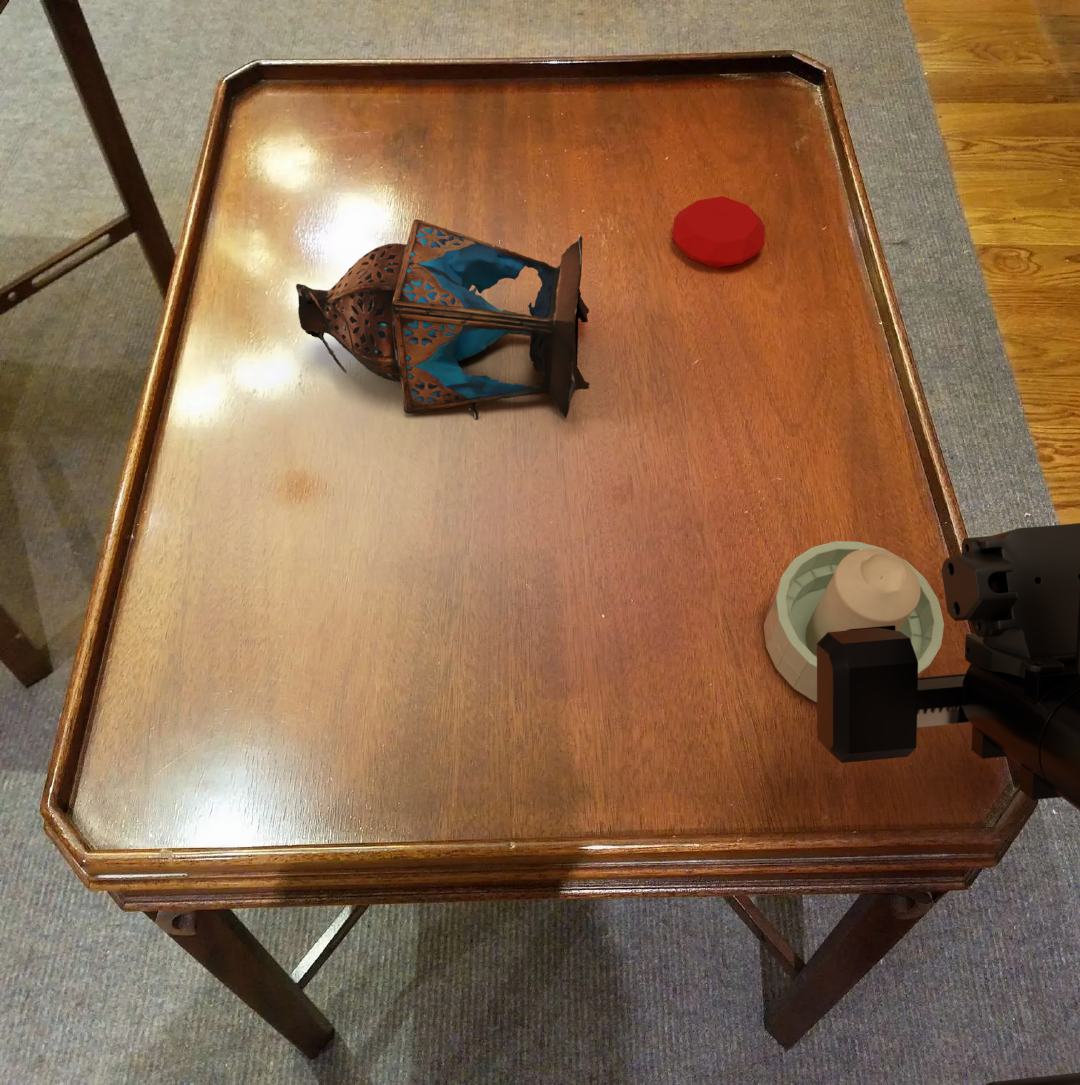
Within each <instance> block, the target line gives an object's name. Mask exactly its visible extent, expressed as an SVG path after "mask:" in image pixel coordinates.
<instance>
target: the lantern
mask: <svg viewBox="0 0 1080 1085" xmlns="http://www.w3.org/2000/svg"><path fill="white" fill-rule="evenodd" d="M582 236H583V235H582V234H580V233H579V234H578V235H577V241H576V242H574V243H572V244H570V245H569V247H567V248H566V249H565V251H564V252H563V253H562V254H561V255H560V256H561V259H560V263H559V265H558V266H557V267H555V266H552V265H550V264H548V262H545V261H541V260H537V259H534V258H531V257H528V256H526V255H523V254H521V253H518V252H516V251H511V250H509V249H507V248H503V247H500V246H498V245H494V246H493V244H491V243H489V242H486V241H483V240H480V239H477V238H475V237H473V236H470V235H467V234H463V233H462V232H457V231H453V230H450V229H447V228H445V227H441V226H440V225H439V226H438V225H436V224H433V223H430V222H427V221H424V220H421V219H417V218H415V219H413V220H412V223H411V227H410V232H409V236H408V237H407V242H406V243H405V244H404V243H397V242H394V243H386V244H383V245H380V246H377V247H374V248H373V249H371V250H370V251H369V252H367V253H366V254H363V255H362V257H360V258H359V259H358V260H357V261H356V262H355V263H354V264H353V265H352V266H351V267H349V268H348V270H347V271H346V272H345V274H343V276H342V277H340V279H339V280H338V281H337V282H336V283H335V284H334V285H333V286H332V287H331V288H330V289H327V290H325V289H314V288H311V287H309V286H307V285H306V284H302V283H296V284H295V289H296V292H297V295H298V299H297V300H298V308H297V310H298V312H297V313H298V320H299V324H300V328H301V329H302V330H303V331H304V332H305V333H306V334H307V335H309V336H311V337H314V338H318V339H319V340H320V341H322V343H323V345H324V347H325V349H326V350H327V351H328V354H329V355H330V356H331V357H332V359H333V360H334V361H335V363H336V364H337V365H338V367H339V368H340V370H342V371H343V373H345V374H347V372H348V371H347V370H346V368H345V367H344V366H343V365H342V363H341V362H340V360H339V359H338V358H337V356H336V354H335V352H334V351H335V350H333V349H332V348H331V347H330V345H329V343H328V342H327V341H326V340H325V337H324V336H325V334H328V335H329V336H331V337H332V338H333V339H334V340H336V342H338V344H339V345H340V346H341V347H342V348H344V349H345V350H346V351H347V352H348V353H349V354H350V355H351V356H352V357H354V358H355V359H356V360H357V361H358V362H359V363H360V364H361V365H363V367H364V368H365V369H367V370H368V371H370V372H371V373H373V374H375V375H376V376H378V377H381V378H383V379H385V380H387V381H391V382H396V383H400V386H401V392H402V402H403V403H402V404H403V411H404V413H405V414H416V413H421V412H422V413H423V412H429V411H436V410H443V409H447V408H449V409H450V408H452V407H456V406H463V405H466V404H467V405H468V406H469V407H468V410H469V411H471V412H472V415H473V416H472V417H473V418H474V419H475V420H478V417H479V411H478V408H477V406H478V405H479V404H482V403H487V402H493V401H499V400H502V399H509V398H515V397H516V398H517V397H525V396H532V395H547V396H548V397H549V399H550V400H551V401H552V402H553V403H554V405H556V406H557V408H558V409H559V412H560V413H561V414H562V416H563V418H564V419H567V417H568V415H569V412H570V408H571V407H570V406H571V401H572V398H573V396H574V394H575V391H578V390H588V389H590V383H589V381H586V380H585V378H584V377H583V375H582V373H581V371H580V369H579V367H578V356H579V355H578V353H579V352H578V350H579V349H578V348H579V320H580V322H581V324H582V323H588V322H589V320H588V314H589V313H590V309H589V308H588V306H587V305H586V304H585V301H584V299H583V297H582V296H581V295H582V292H581V289H580V288H581V280H582V268H583V237H582ZM525 267H526V268H528V269H531V268H532V269H535V271H537V273H536V274H537V277H538V278H539V280H540V281H541V286H540V288H539V290H538V291H537V295H536V297H535V301H534V306H533V305H532V304H533V303H532V301H530V302H529V304H528V306H527V307H528V310H529V314H530V315H529V314H525V313H518V312H516V311H512V310H508V309H499V308H497V307H496V306H494V305H493V304H491V303H490V302H489V301H488V300H486V299H485V298H484V297H483V296H482V295H481V294H482V293H483V292H484V291H485V290H489V289H491V288H492V287H494V286H496V285H497V284H498V283H499V281H500V280H503V279H512V280H515V281H516V279H518V278H519V276H520V273H521V271H522V270H523V269H524V268H525ZM472 286H473V287H474V288H473V289H471V288H472ZM470 289H471V290H470ZM476 292H478V294H477V293H476ZM506 335H517V336H528V337H530V341H529V342H530V343H529V353H528V354H529V359H530V361H531V362H532V366H533V369H534V370H535V371H536V372H538V373H540V374H542V376H541V383H540V384H539V385H536V386H533V385H525V384H521V383H517V382H515V383H509V382H500V381H499V380H498V379H494V378H491V377H490V376H488V375H471V374H469V373H467V372H465V371H464V370H463V369H462V367H461V366H460V363H459V362H461V361H462V360H465V359H467V358H471V357H473V356H475V355H478V354H479V353H481V352H484V351H485V350H486V349H487V347H488V346H491V345H493V344H495V342H496V341H497V340H499V339H502V338H503V337H505V336H506Z"/></svg>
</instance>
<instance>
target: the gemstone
mask: <svg viewBox="0 0 1080 1085" xmlns="http://www.w3.org/2000/svg"><path fill="white" fill-rule="evenodd" d="M671 238H672V240H673V242H674V244H675V246H677V248H678V249H680V251H681V252H683V253H684V255H686V257H688V258H689V259H690V260H692V261H695V262H698V263H700V264H703V265H705V266H708V267H711V268H714V269H717V268H723V267H729V266H733V265H739V264H742V263H744V262H745V261H747V260H749V259H750V258H752V257H754V256H756V255H757V254H759V253H760V252H761V251H762V250H763V248H764V247H765V243H766V242H765V241H766V226H765V224H764V222H763V221H762V219H761V217H759V215H758V214H757V213H756V212H755V211H754V210H753V209H752V208H751V207H750V205H749V204H747V203H743V202H741V201H738V200H736V199H732V198H729V197H726V196H723V195H719V196H715V197H709V198H704V199H697V200H695V201H694V202H692V203H691V204H689V205H688V206H686V207H684V208H683V209H682V210H680V211H678V213H677V214H676V216H675V217H674V218H673V226H672V237H671Z"/></svg>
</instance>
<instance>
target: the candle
mask: <svg viewBox="0 0 1080 1085" xmlns="http://www.w3.org/2000/svg"><path fill="white" fill-rule="evenodd" d="M890 552H891V551H890ZM890 552H887V551H884V550H880V549H872V548H868V549H860V550H857V551H854V552H852V553H850V554H848V555H847V556H846V557H844V558H843V559H842V561H841V562H840V564H839V565H838V567H837V569H836V571H835V573H834V575H833V576H832V578H831V580H830V582H829V584H828V586H827V588H826V590H825V592H824V594H823V595H822V597H821V599H820V601H819V603H818V605H817V607H816V609H815V611H814V613H813V614H812V616H811V619H810V621H809V623H808V626H807V630H806V641H807V645H808V647H809V650H810V651H811V653H812V654H813V655H814V656H816V657H817V643H818V642H819V641H820V640H821V639H822V638H823V637H824V636H825V635H826V634H827V632H837V631H846V630H849V629H856V628H868V627H880V626H891V625H895V631H899V630H900V628H901V627H902V626H903V624H904V623H905V622H906V620H907V619H908V617H909V616H910V615H911V613H912V612H913V610H914V609H915V608H916V606H917V604H918V602H919V599H920V594H921V589H920V583H919V580H918V578H917V576H916V574H915V572H914V571H913V569H912V568H911V567H910V566H909V565H908V564H907V563H906V562H905V561H904V560H905V559H904V560H902V559H903V558H902V557H900V556H899V555H897V554H895V553H893V552H891V553H890ZM892 553H893V554H892ZM894 554H895V555H894ZM896 555H897V556H896ZM898 556H899V557H898ZM901 558H902V559H901Z"/></svg>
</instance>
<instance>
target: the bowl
mask: <svg viewBox="0 0 1080 1085" xmlns="http://www.w3.org/2000/svg"><path fill="white" fill-rule="evenodd" d="M868 548H872V549H880V550H884V551H887V552H890V553H892V554H894V555H896V556H898V557H900V556H899V555H897V554H895V553H894V552H892V551H890V550H888V549H886V548H884V547H879V546H877V545H873V544H869V543H866V542H862V541H854V540H853V541H847V540H845V541H844V540H835V541H831V542H830V541H829V542H827V543H826V542H825V543H823V544H819V545H815V546H812V547H810V548H809V549H808V550H806V551H804V552H803V553H801V554H799V555H798V556H796V557H795V558H794V559H793V560H791V562H790V564H789V565H788V567H787V568H786V569H785V570H784V572H783V573H782V575H781V576H780V578H779V581H778V583H777V586H776V588H775V590H774V593H773V595H772V597H771V600H770V601H769V604H768V607H767V611H766V614H765V618H764V622H763V632H764V641H765V647H766V650H767V652H768V654H769V656H770V659H771V661H772V663H773V665H774V667H775V669H776V671H777V672H778V673H779V674H780V675H781V676H782V677H783V678H784V679H785V681H786V682H787V683H788V684H789V685H790V686H791V687H792V689H794V690H796V691H797V692H799V693H800V694H802V695H803V696H805V697H806V698H808V699H809V700H811V701H812V702H814V703H816V704H817V657H816V656H814V655H813V654H812V653H811V651H810V650H809V647H808V645H807V641H806V630H807V626H808V623H809V621H810V619H811V616H812V614H813V613H814V611H815V609H816V607H817V605H818V603H819V601H820V599H821V597H822V595H823V594H824V592H825V590H826V588H827V586H828V584H829V582H830V580H831V578H832V576H833V575H834V573H835V571H836V569H837V567H838V565H839V564H840V562H841V561H842V559H843V558H844V557H846V556H847V555H848V554H850V553H852V552H854V551H857V550H860V549H868ZM900 558H901V559H902V560H904V561H905V562H906V563H907V564H908V565H909V566H910V567H911V568H912V569H913V571H914V572H915V574H916V576H917V578H918V580H919V583H920V589H921V594H920V599H919V602H918V604H917V606H916V608H915V609H914V610H913V612H912V613H911V615H910V616H909V617H908V619H907V620H906V622H905V623H904V624H903V626H902V627H901V628H900V630H899V631H900V632H902V633H903V634H905V635H906V636H908V637H909V638H910V640H911V643H912V646H913V649H914V652H915V655H916V657H917V660H918V678H920V677H922V675H923V674H924V673H925V671H926V670H928V668H929V667H930V666H931V664H932V663H933V661H934V660H935V657H936V656H937V654H938V653H939V651H940V649H941V647H942V644H943V635H944V630H945V622H944V617H943V613H942V608H941V605H940V601H939V598H938V597H937V595H936V593H935V592H934V590H933V589H932V587H931V585H930V583H929V582H928V580H927V579H926V577H924V576H923V574H921V573H920V572H919V571H918V570H917V569H916V568H915V567H914V566H913V565H912V564H911V563H910V562H908V561H907V560H906V559H904V558H902V557H900Z"/></svg>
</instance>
